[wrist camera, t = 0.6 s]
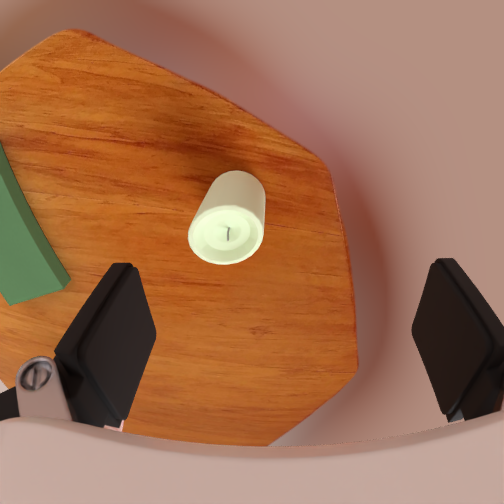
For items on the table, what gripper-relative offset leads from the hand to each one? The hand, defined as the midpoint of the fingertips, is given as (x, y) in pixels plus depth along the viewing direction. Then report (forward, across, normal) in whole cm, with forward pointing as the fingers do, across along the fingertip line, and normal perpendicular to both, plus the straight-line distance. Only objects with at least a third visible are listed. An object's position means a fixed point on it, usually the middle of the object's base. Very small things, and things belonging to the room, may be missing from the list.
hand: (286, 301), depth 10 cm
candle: (+19, +4, +4) cm, 20 cm away
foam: (+19, +34, +5) cm, 40 cm away
